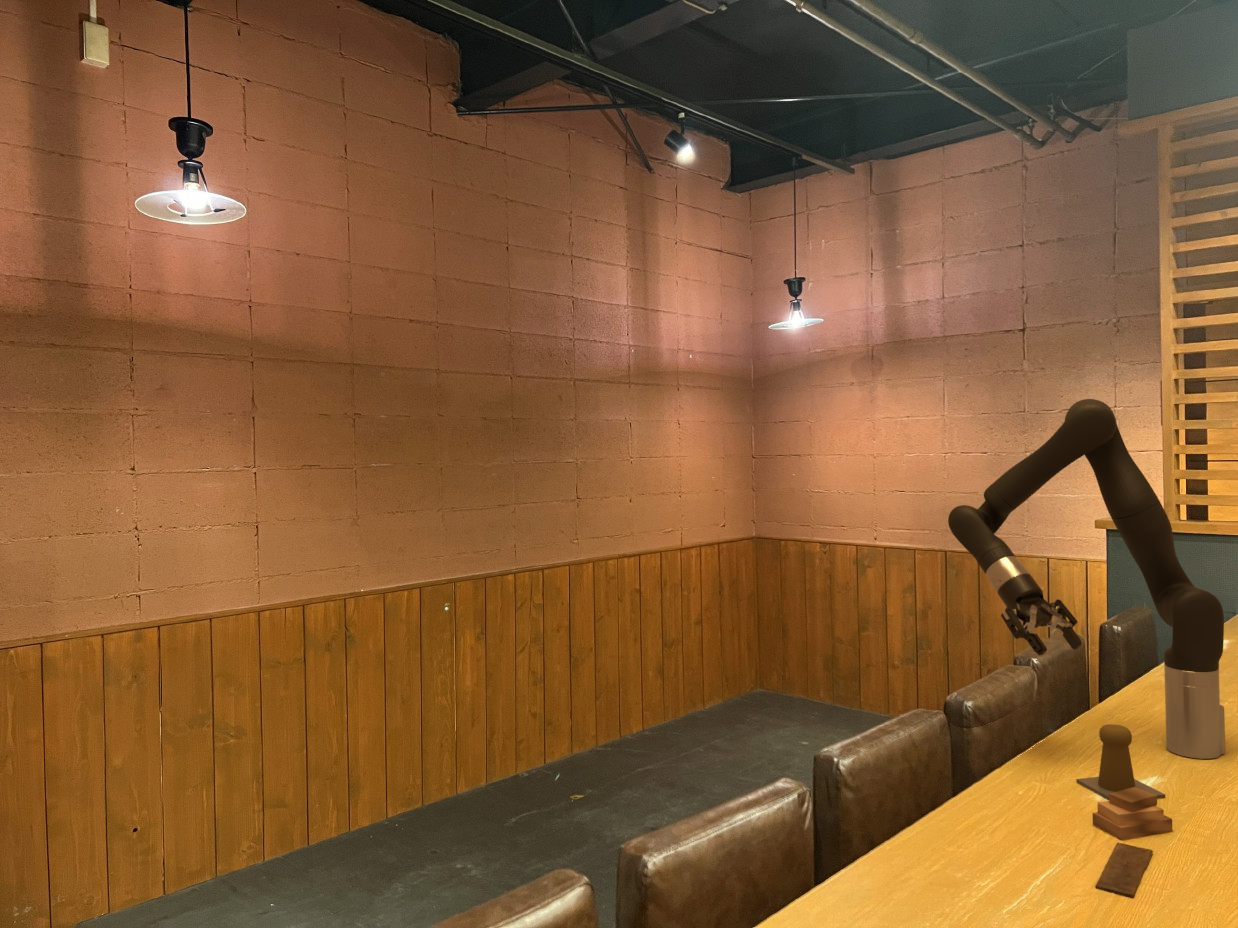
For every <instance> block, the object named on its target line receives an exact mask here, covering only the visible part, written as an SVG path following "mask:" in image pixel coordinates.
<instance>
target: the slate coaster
mask: <svg viewBox="0 0 1238 928" xmlns="http://www.w3.org/2000/svg"><path fill="white" fill-rule="evenodd" d="M1098 779H1099V776H1092V777H1084V778H1076V780H1075V781H1076V783H1077V784H1079V785H1081V786H1082V787H1084V788H1086V789H1088V790H1090V791H1091V792H1093V793H1095V794H1097V795H1099V796H1100V797H1103V798H1104V799H1106V800H1107V801H1109V794H1110V793H1113V791H1109V790H1106V789H1103V788H1102V787H1100V786H1099V785H1098ZM1134 781H1135V787H1136V788H1139V789H1141V790H1144V791H1146V792H1149V793H1152V794H1154V795H1157V800H1159V799H1166V793H1164V792H1161V791H1159V790H1158V789H1155V788H1153V787H1152V786H1149V785H1148V784H1145V782H1142V781H1139V780H1138V779H1135V778H1134Z"/></svg>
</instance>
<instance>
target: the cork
mask: <svg viewBox="0 0 1238 928" xmlns="http://www.w3.org/2000/svg"><path fill="white" fill-rule="evenodd" d="M1098 733H1099V739H1100V741H1101V743H1102V748H1101V755H1100V756H1101V758H1100V765H1099V773H1098V777H1099V779H1098V785H1099V786H1100V787H1102V788H1103V789H1106V790H1109V791H1113V792H1117V791H1121V790H1125V789H1129V788H1133V787H1135V781H1134V779H1135V776H1134V771H1133V765H1132V764H1133V763H1132V759H1131V753H1130V745H1131V744H1132V740H1133V736H1132V732H1131V730H1130V729H1129V728H1128V727H1126V726H1123V725H1120V724H1114V723H1113V724H1112V723H1111V724H1110V723H1109V724H1104V725H1102V726H1101V727H1099V732H1098Z"/></svg>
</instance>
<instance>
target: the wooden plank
mask: <svg viewBox="0 0 1238 928" xmlns="http://www.w3.org/2000/svg"><path fill="white" fill-rule="evenodd" d="M1153 853H1154V850H1152V849H1150V848H1144V847H1139V846H1136V845H1130V844H1127V843H1122V842H1116V843H1115V846H1114V848H1113V850H1112V852H1111V853H1110V855H1109V857H1108V860H1107V861H1106V864H1105V866H1104V868H1103V870H1102V872H1101V874H1100V876H1099V878H1098V880H1097V881H1096V883H1095V889H1098V890H1101V891H1104V892H1108V893H1111V894H1112V893H1113V894H1115V895H1120V896H1123V897H1126V898H1130V899H1131V898H1134V897H1135V894H1136V893H1137V890H1138V887H1139V885H1140V882H1141V880H1142V877H1143V875H1144V873H1145V870H1146V868H1147V867H1148V865H1149V862H1150V860H1151V857H1152V856H1153Z"/></svg>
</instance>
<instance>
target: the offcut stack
mask: <svg viewBox="0 0 1238 928" xmlns="http://www.w3.org/2000/svg"><path fill="white" fill-rule="evenodd" d="M1164 812H1165V811H1164V809H1163V808H1161V807H1159V806H1158V799H1157V795H1154V794H1152V793H1149V792H1146V791H1144V790H1141V789H1139V788H1136V787H1133V788H1129V789H1125V790H1121V791H1117V792H1113V793H1110V794H1109V800H1107V801H1106V800H1105V801H1099V802H1097V811H1096V812H1092V813H1091V814H1092V825H1093V826H1094V827H1097V828H1098V829H1099V830H1101V831H1103V832H1106V833H1107V834H1108V835H1109V834H1110V836H1113V837H1115V838H1117V839H1119V840H1121V841H1124V840H1125V841H1126V840H1130V839H1135V838H1142V837H1146V836H1152V835H1159V834H1163V833H1164V834H1165V833H1170V832H1173V818H1172V817H1169V816H1166V815H1165V814H1164Z"/></svg>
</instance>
